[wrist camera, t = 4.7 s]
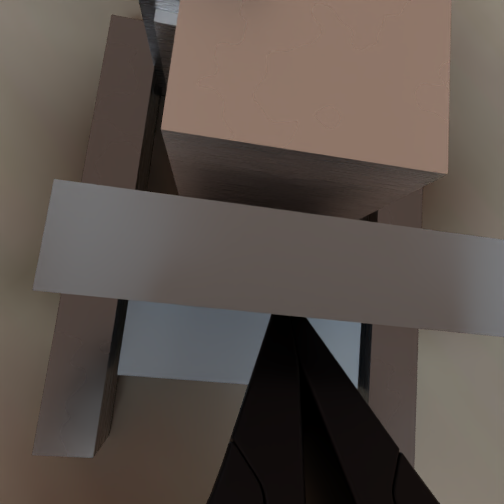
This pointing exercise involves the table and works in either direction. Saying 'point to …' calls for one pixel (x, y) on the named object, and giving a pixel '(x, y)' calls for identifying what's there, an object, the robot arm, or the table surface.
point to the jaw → (256, 277)
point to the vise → (114, 310)
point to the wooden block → (308, 102)
